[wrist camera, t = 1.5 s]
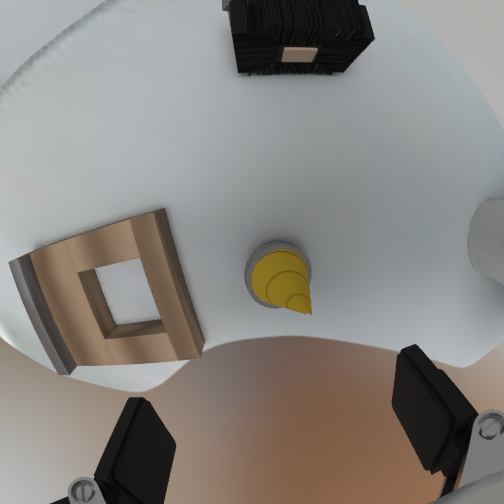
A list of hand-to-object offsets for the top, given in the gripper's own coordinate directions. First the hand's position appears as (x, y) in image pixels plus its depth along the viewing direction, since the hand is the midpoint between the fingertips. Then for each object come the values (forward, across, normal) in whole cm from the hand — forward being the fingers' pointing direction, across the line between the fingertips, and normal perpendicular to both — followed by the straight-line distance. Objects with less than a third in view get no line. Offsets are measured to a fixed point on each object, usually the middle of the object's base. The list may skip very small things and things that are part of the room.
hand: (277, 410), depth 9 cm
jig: (+18, +16, 0) cm, 24 cm away
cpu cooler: (+18, -7, -19) cm, 27 cm away
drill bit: (+18, -1, 0) cm, 18 cm away
